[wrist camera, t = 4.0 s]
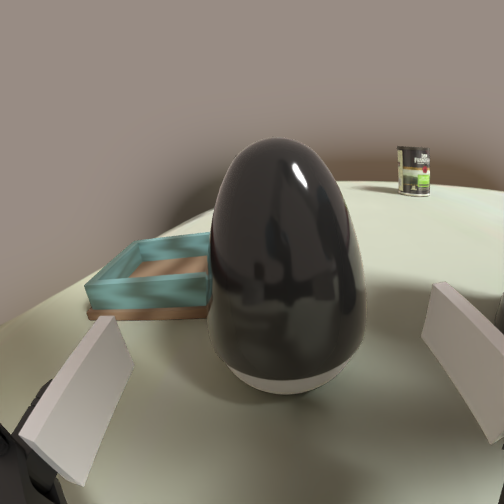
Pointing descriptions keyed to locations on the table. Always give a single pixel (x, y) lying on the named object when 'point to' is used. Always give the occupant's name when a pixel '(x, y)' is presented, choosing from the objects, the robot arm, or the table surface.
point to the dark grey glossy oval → (283, 270)
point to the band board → (153, 280)
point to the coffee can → (414, 171)
